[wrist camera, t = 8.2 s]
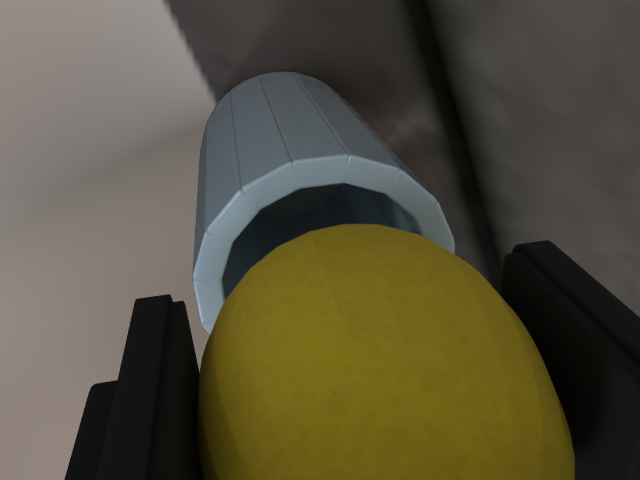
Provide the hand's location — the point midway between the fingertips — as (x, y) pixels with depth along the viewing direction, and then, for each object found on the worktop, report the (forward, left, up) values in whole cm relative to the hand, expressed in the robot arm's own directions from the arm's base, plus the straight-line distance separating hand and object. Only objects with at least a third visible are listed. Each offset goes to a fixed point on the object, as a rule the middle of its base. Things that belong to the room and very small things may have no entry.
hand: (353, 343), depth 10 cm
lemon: (0, 0, -3) cm, 3 cm away
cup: (0, 0, -11) cm, 11 cm away
